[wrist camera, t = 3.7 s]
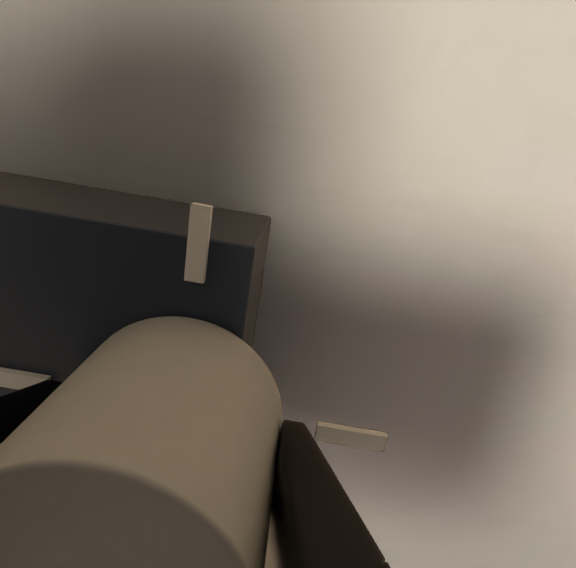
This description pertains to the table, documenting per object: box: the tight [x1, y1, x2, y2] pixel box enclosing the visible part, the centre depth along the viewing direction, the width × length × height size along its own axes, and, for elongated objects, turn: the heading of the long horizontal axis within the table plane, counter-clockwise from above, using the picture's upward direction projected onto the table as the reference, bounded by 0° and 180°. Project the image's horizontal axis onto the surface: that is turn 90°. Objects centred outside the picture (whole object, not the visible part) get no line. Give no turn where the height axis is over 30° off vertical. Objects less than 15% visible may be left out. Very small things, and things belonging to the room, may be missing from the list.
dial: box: [0, 316, 282, 568], centre depth 7 cm, size 4×4×4 cm
